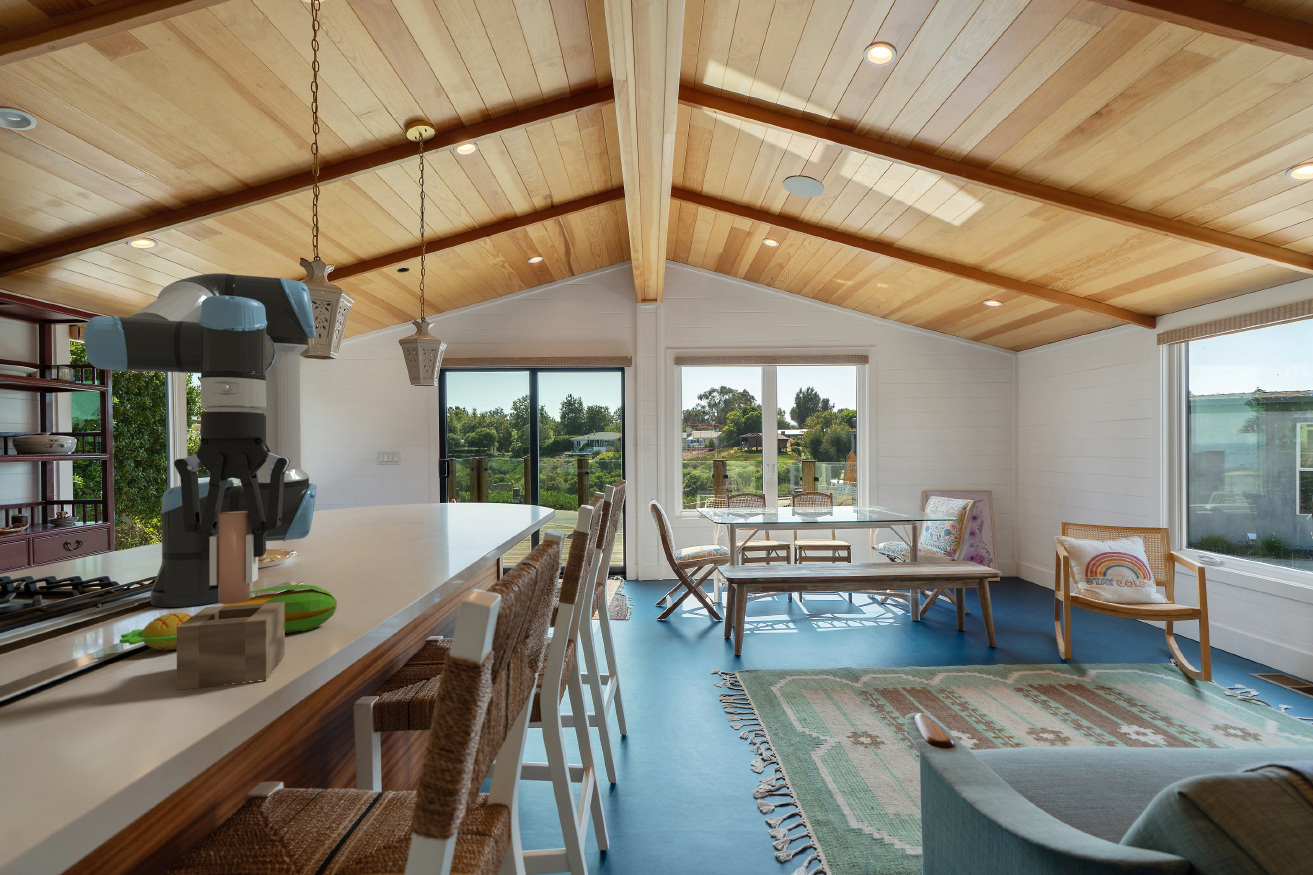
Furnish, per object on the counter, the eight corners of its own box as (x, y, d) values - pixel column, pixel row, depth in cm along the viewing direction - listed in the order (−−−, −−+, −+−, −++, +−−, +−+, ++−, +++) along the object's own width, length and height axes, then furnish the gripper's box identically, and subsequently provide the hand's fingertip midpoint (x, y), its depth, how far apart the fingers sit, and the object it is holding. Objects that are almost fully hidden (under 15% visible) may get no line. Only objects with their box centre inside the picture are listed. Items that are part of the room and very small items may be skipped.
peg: (223, 598, 89) (223, 512, 89) (253, 596, 90) (253, 511, 90) (214, 604, 86) (214, 514, 86) (245, 602, 87) (245, 513, 87)
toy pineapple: (203, 650, 97) (203, 614, 97) (117, 663, 92) (117, 626, 92) (203, 638, 103) (203, 605, 103) (122, 650, 97) (122, 615, 97)
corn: (337, 583, 107) (191, 597, 98) (337, 630, 107) (190, 648, 98) (336, 578, 114) (199, 591, 105) (336, 621, 114) (198, 638, 104)
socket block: (205, 663, 91) (205, 607, 91) (284, 656, 94) (284, 601, 94) (176, 689, 82) (176, 627, 82) (266, 680, 85) (265, 620, 85)
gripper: (149, 409, 82) (149, 592, 82) (295, 410, 87) (296, 583, 87) (174, 411, 89) (174, 580, 89) (307, 412, 94) (307, 572, 94)
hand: (234, 581), depth 88 cm, fingers closed on peg, 3 cm apart
